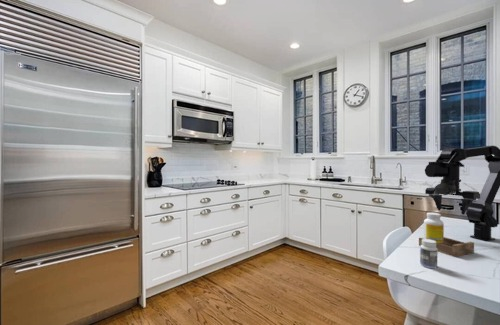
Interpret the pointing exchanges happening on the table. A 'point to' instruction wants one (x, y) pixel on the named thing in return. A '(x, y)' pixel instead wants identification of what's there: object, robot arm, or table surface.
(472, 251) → the bay
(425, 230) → the supplement bottle
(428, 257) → the pill bottle
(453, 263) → the table surface
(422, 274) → the table surface
